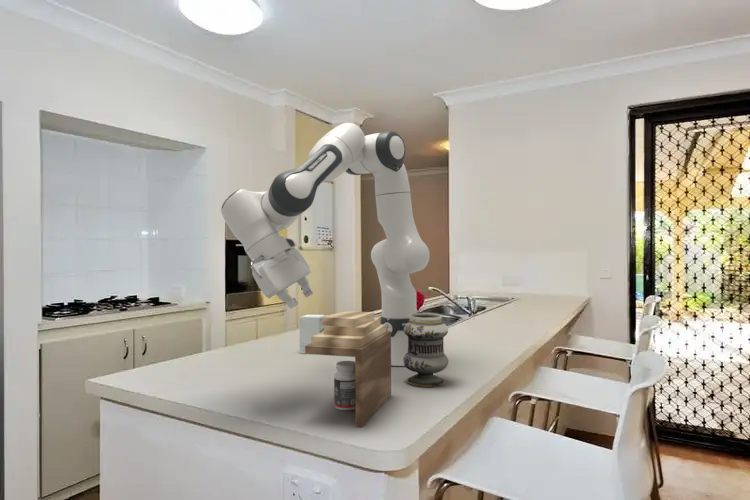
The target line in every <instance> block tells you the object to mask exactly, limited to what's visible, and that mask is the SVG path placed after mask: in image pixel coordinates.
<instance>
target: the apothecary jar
mask: <svg viewBox="0 0 750 500" xmlns="http://www.w3.org/2000/svg"><path fill="white" fill-rule="evenodd" d="M448 332H449V328H448V326H447V324H446V323H444V321H443V316H442V314H438V313H434V312H417V313H415V314H411V315H410V320H409V322H408V323H407V324H406V325H405V326H404V333H405V334H406V335H407V336H408V353H406V355H405V356H404V358H403V363H404V365H405V366H404V367H406V369H407V370H409V371H411V372H414V373H417V374H415V375H413V376H410V377H409V378H407V380H406V383H408V384H409V385H412V386H415V387H421V388H431V387H436V386H437V387H440V386H442V385H444V384H445V380H444V379H443V378H441V377H439V376H438V375H435V374H436V373H439V372H442V371H444V370H445V369H447V367H448V366H449V358H448V356H447V355H446V354H445V350H444V337H446V336H447V335H448Z"/></svg>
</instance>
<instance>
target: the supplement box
mask: <svg viewBox="0 0 750 500" xmlns="http://www.w3.org/2000/svg"><path fill="white" fill-rule="evenodd" d="M324 316H326V314H305V315H302V316H300V317H299V354H304V355H305V346H307V345H309V344H311V336H313V335H316V334H318V333H320V332H323V331H324V326H323V325H322V317H324Z"/></svg>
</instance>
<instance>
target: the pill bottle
mask: <svg viewBox="0 0 750 500" xmlns="http://www.w3.org/2000/svg"><path fill="white" fill-rule="evenodd" d="M335 370H337V371H336V372H335V374H334V376H333V385H334V386H333V387H334V388H333V389H334V390H333V396H334V397H333V400H334V401H333V402H334V403H333V405H334V407H335V409H337V410H340V411H353V410H356V395H355V360H354V361H353V360H342V361H341V360H340V361H337V362H336V363H335Z"/></svg>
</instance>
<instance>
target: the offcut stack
mask: <svg viewBox="0 0 750 500" xmlns="http://www.w3.org/2000/svg"><path fill="white" fill-rule="evenodd" d="M380 320H381V316H379V317H378V316H377V317H376V316H375V312H373V311H372V312H371V311H356V310H351V311H350V310H343V311H340V312H335V313H332V314H328V315H325V316H324V317H322V325H323V326H324V331H323V332H320V333H318V334H316V335H313V336H311V345H322V346H339V347H356V348H361V347H363V346H365V345H366V344H368V343H370V342H371V341H373V340H374V339H376V338H378V337H379V336H381V335H383V334H384V333H386V325H383V324H380Z"/></svg>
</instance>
